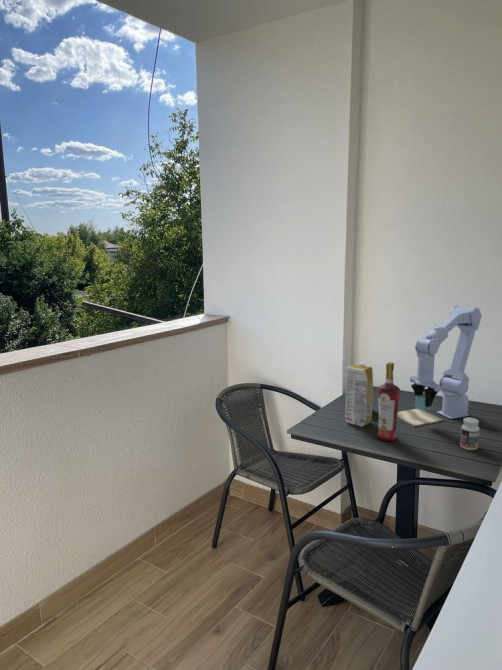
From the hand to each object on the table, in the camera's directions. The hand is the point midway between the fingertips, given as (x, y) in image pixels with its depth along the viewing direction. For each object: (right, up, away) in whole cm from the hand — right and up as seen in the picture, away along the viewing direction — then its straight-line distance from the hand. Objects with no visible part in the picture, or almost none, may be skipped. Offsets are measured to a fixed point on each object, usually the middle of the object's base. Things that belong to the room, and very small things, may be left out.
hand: (423, 404), depth 181 cm
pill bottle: (+9, -12, -18) cm, 24 cm away
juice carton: (-24, -8, +5) cm, 26 cm away
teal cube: (0, -1, 0) cm, 1 cm away
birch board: (0, -7, +9) cm, 11 cm away
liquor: (-17, -11, -10) cm, 22 cm away
